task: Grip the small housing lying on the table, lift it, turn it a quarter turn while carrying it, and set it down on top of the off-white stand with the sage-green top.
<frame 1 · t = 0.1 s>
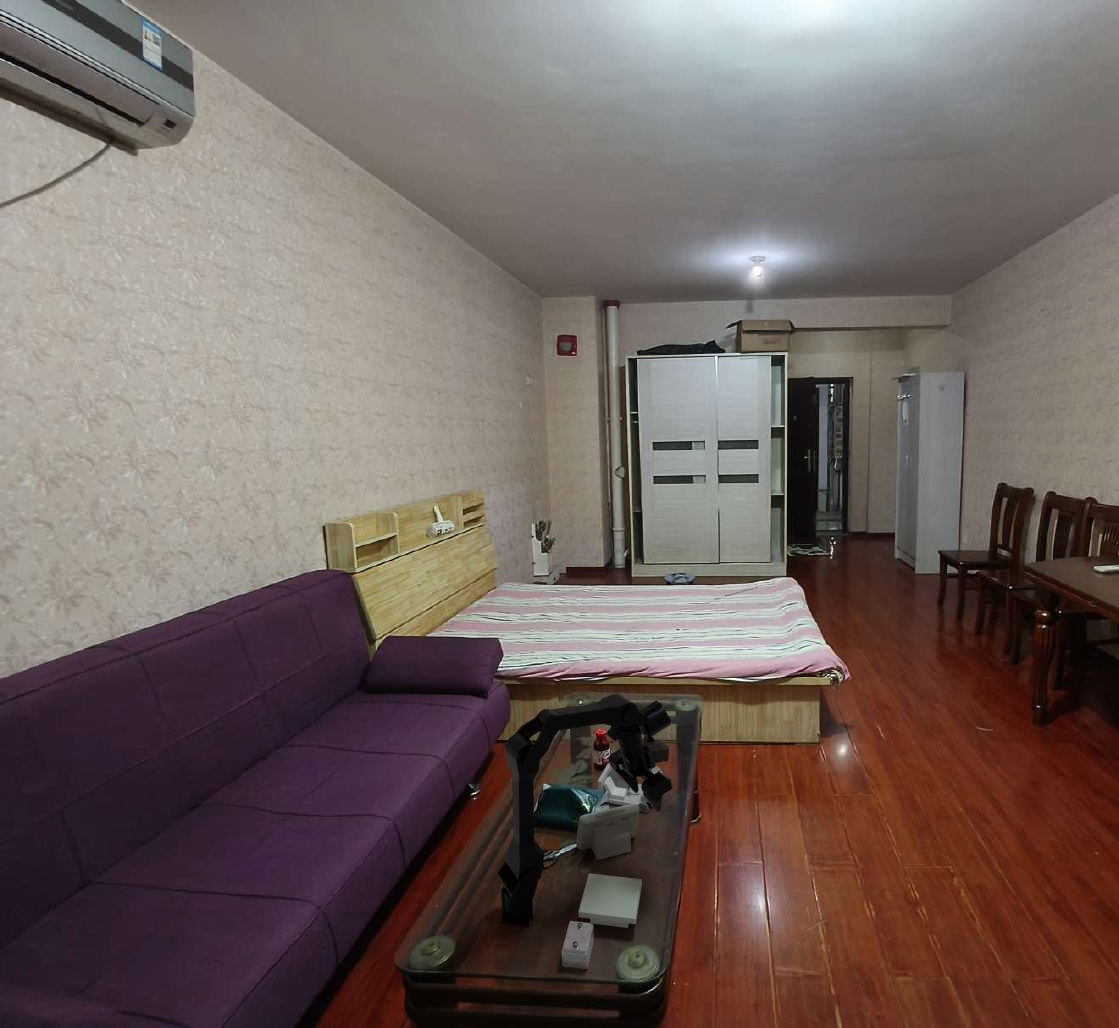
hand: (647, 801, 157), 15 cm above the table, tool pointing down, fingers open, 9 cm apart
housing: (578, 953, 133), on the table
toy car: (631, 800, 186), on the table
stand: (611, 911, 143), on the table
digital clock: (608, 847, 166), on the table
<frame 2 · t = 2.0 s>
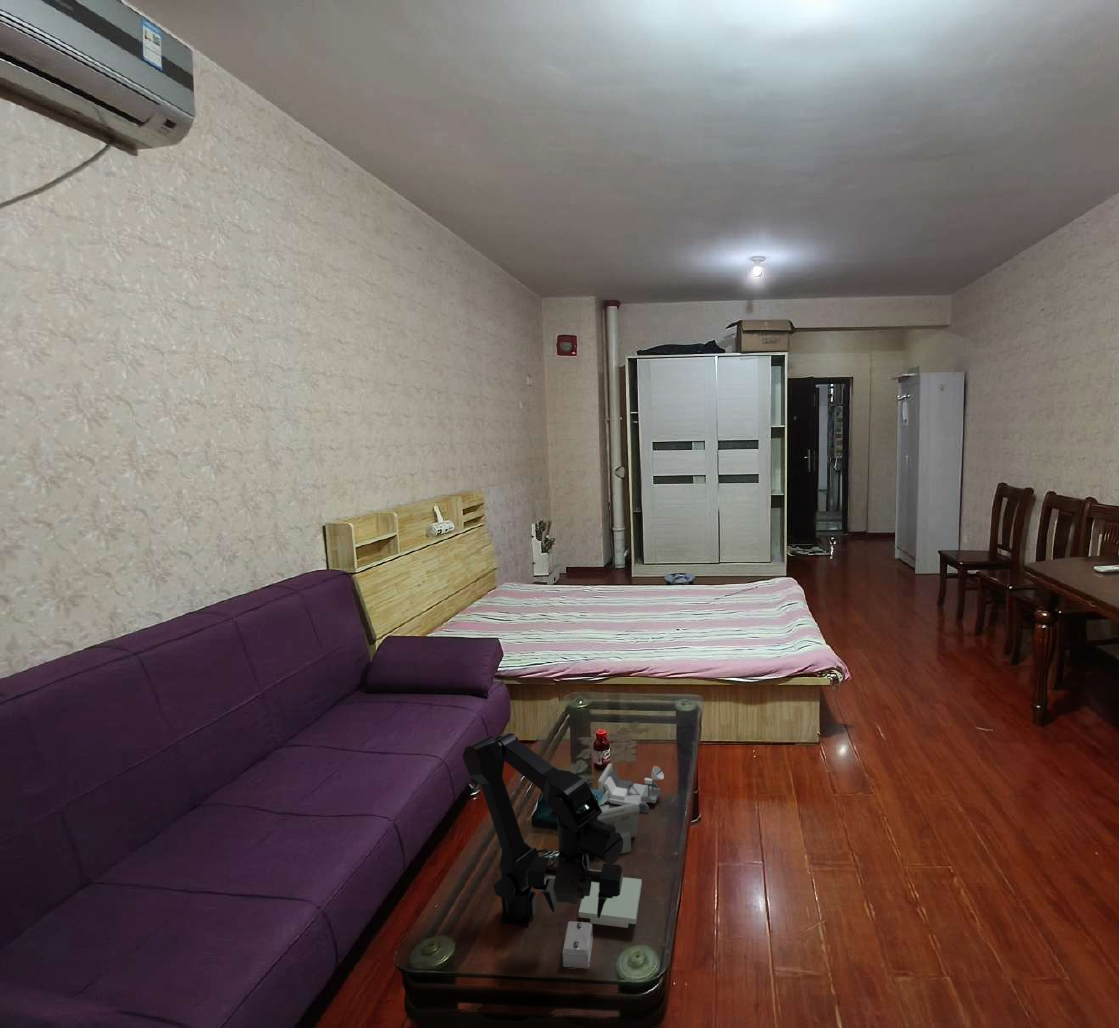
hand: (576, 913, 132), 8 cm above the table, tool pointing down, fingers open, 9 cm apart
nothing on the table moved.
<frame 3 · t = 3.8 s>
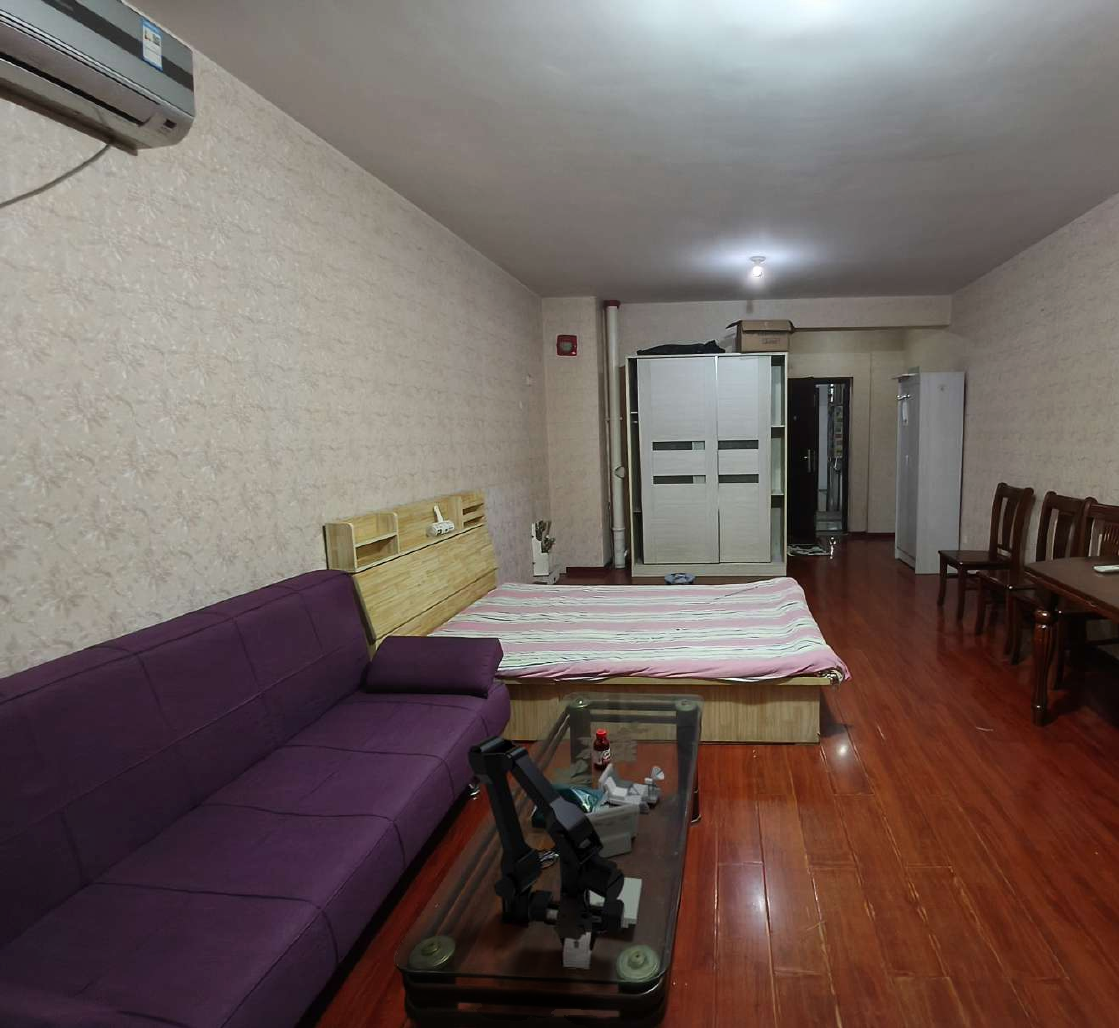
hand: (578, 947, 133), 1 cm above the table, tool pointing down, fingers closed on housing, 5 cm apart
housing: (578, 952, 133), on the table, touching gripper
everything else where it was.
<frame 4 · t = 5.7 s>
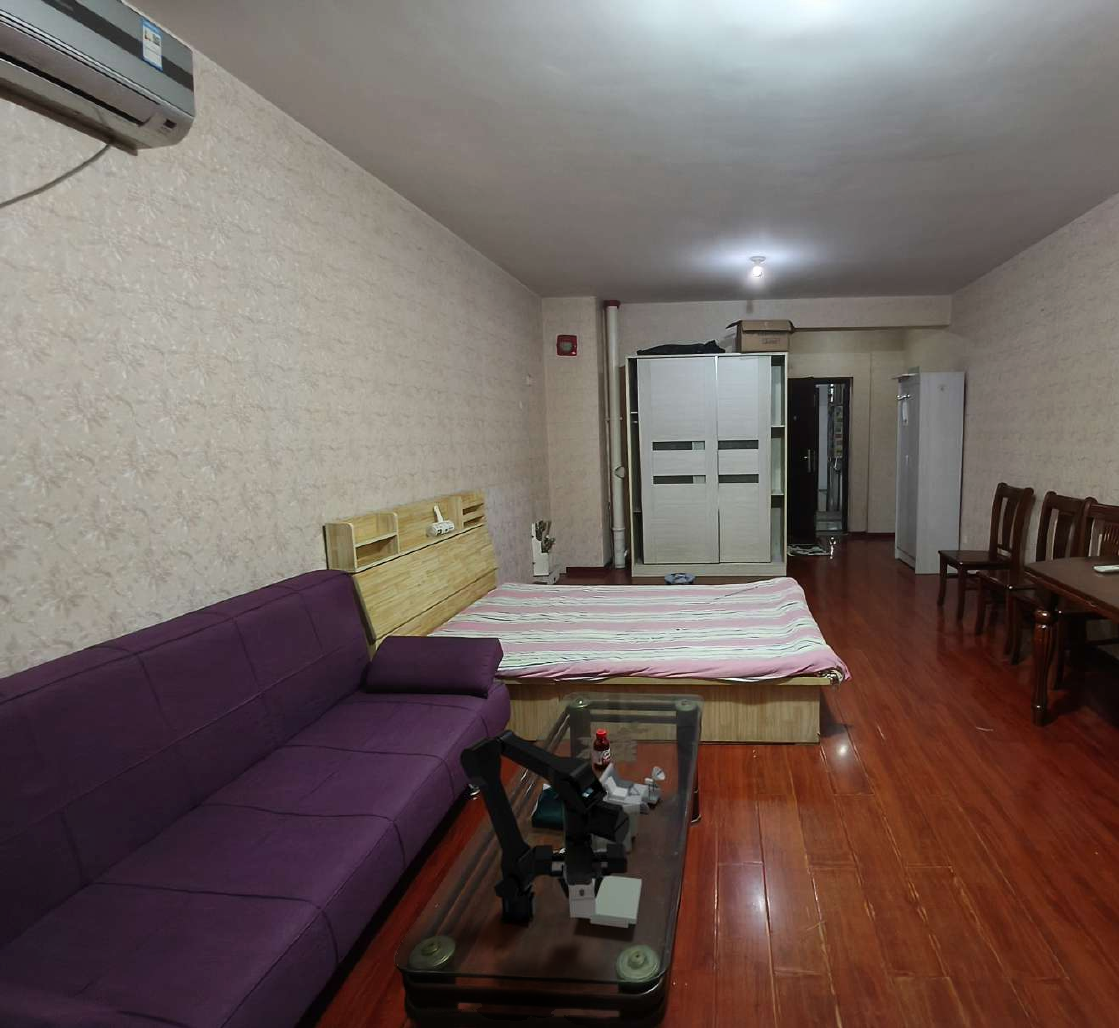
hand: (581, 897, 133), 11 cm above the table, tool pointing down, fingers closed on housing, 5 cm apart
housing: (581, 902, 133), point 10 cm above the table, touching gripper
everything else where it was.
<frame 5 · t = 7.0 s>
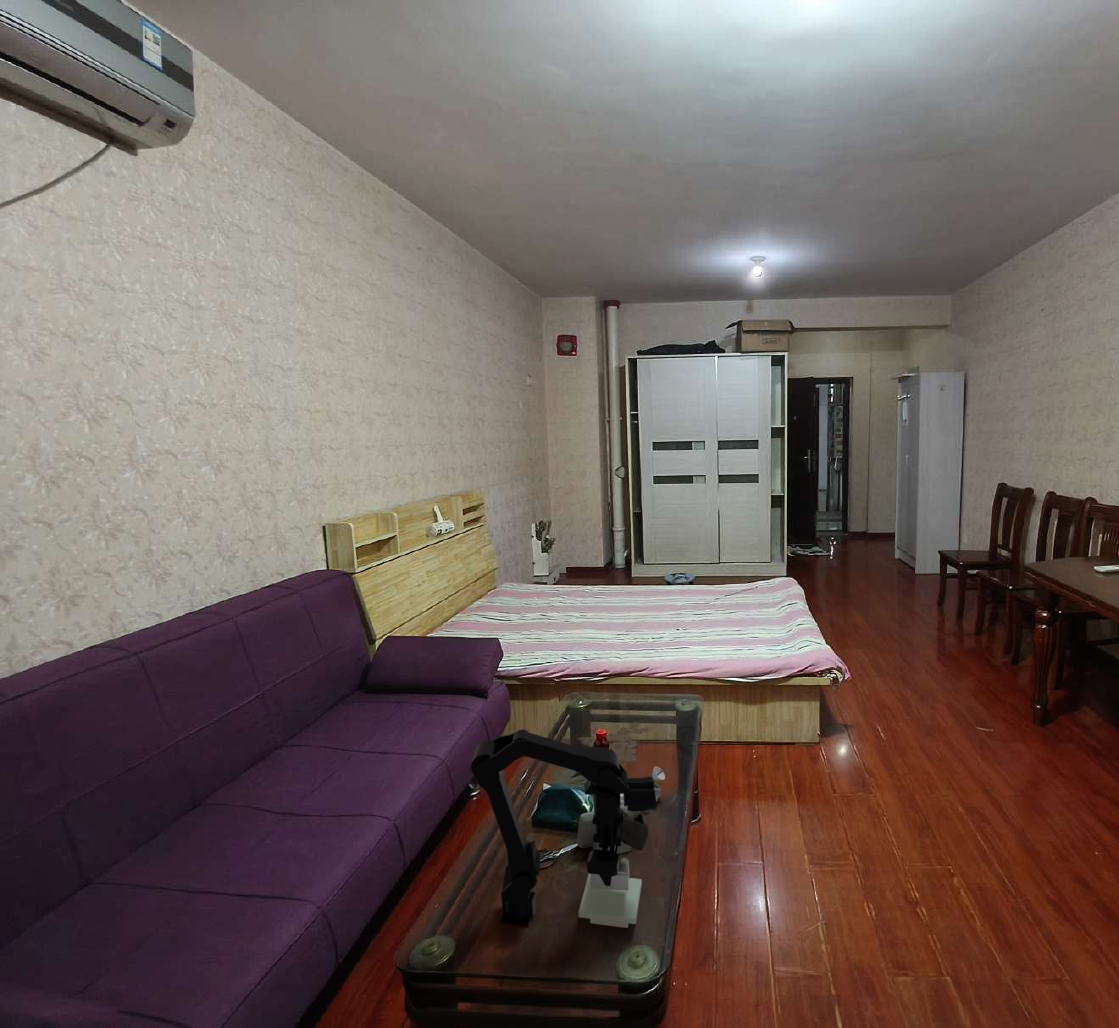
hand: (609, 877, 142), 8 cm above the table, tool pointing down, fingers closed on housing, 5 cm apart
housing: (610, 881, 142), point 7 cm above the table, touching gripper
everything else where it was.
when the fingers open (6 cm above the table, at t = 8.1 s): housing drops 1 cm, resting on stand.
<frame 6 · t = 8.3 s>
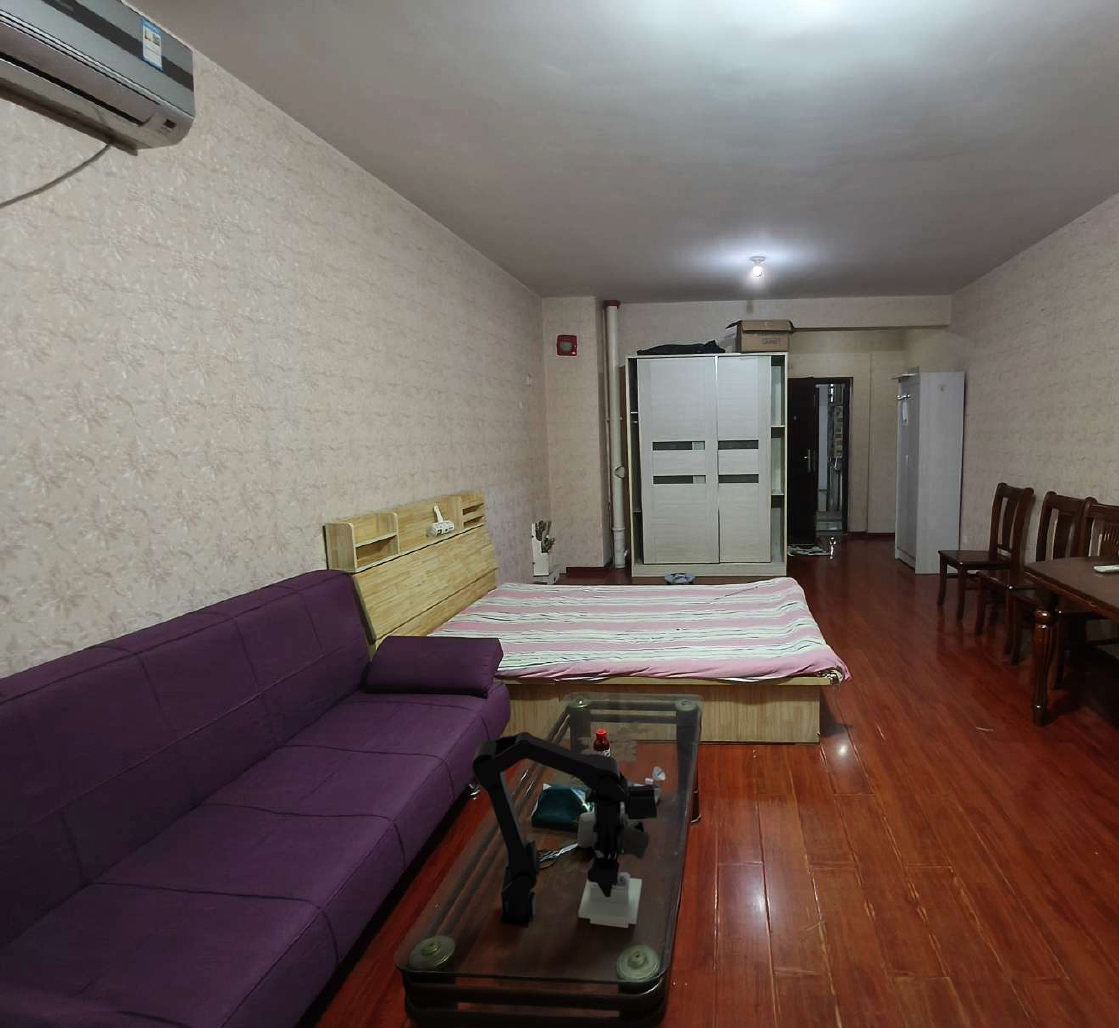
hand: (610, 884, 143), 6 cm above the table, tool pointing down, fingers open, 7 cm apart
housing: (611, 895, 143), point 4 cm above the table, touching stand
everything else where it was.
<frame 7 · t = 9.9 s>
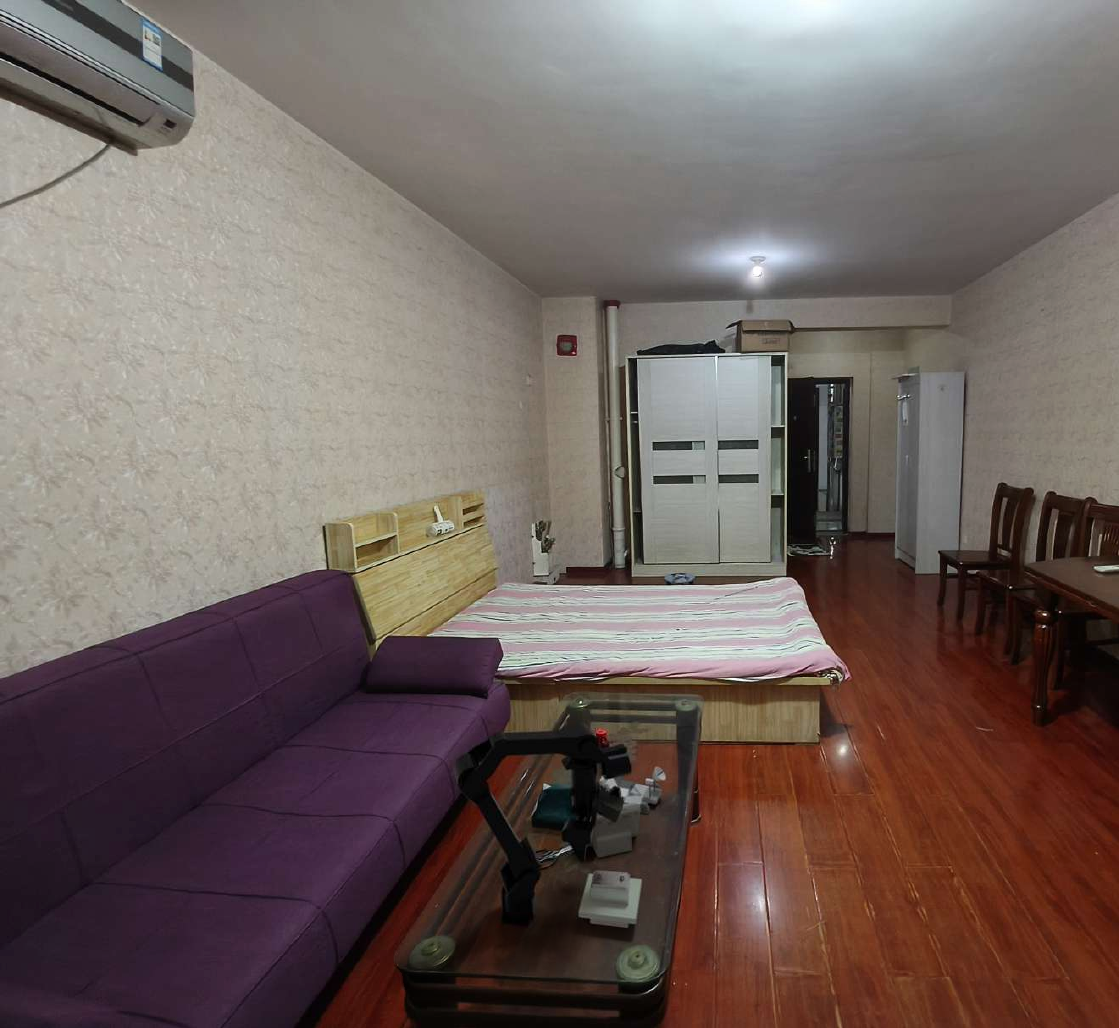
hand: (586, 847, 147), 12 cm above the table, tool pointing down, fingers open, 9 cm apart
nothing on the table moved.
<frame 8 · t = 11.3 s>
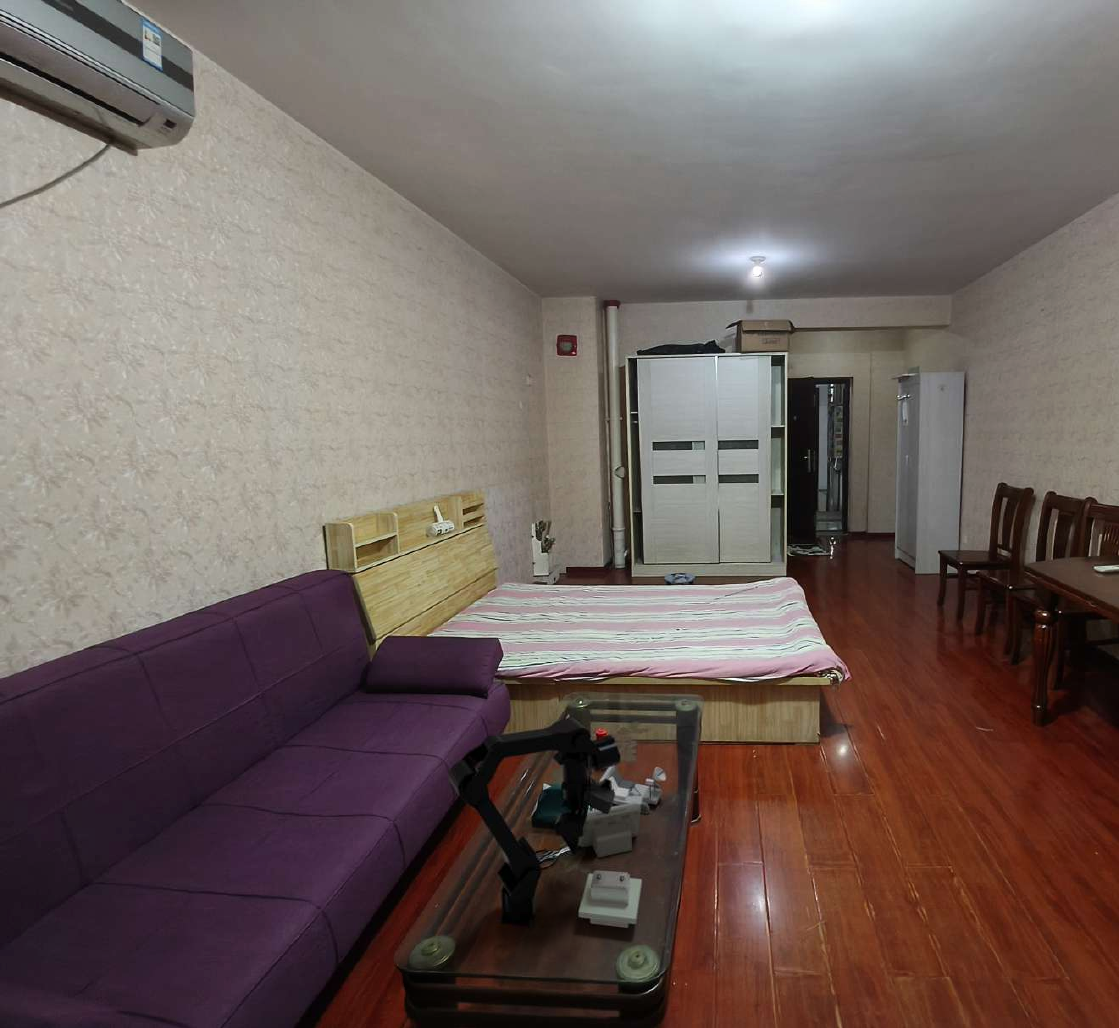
hand: (578, 840, 149), 12 cm above the table, tool pointing down, fingers open, 9 cm apart
nothing on the table moved.
at the end: housing inside the target area on the stand (0.0 cm from its centre), point 4.0 cm above the stand's base; housing tilted 0°; the gripper is holding nothing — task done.
